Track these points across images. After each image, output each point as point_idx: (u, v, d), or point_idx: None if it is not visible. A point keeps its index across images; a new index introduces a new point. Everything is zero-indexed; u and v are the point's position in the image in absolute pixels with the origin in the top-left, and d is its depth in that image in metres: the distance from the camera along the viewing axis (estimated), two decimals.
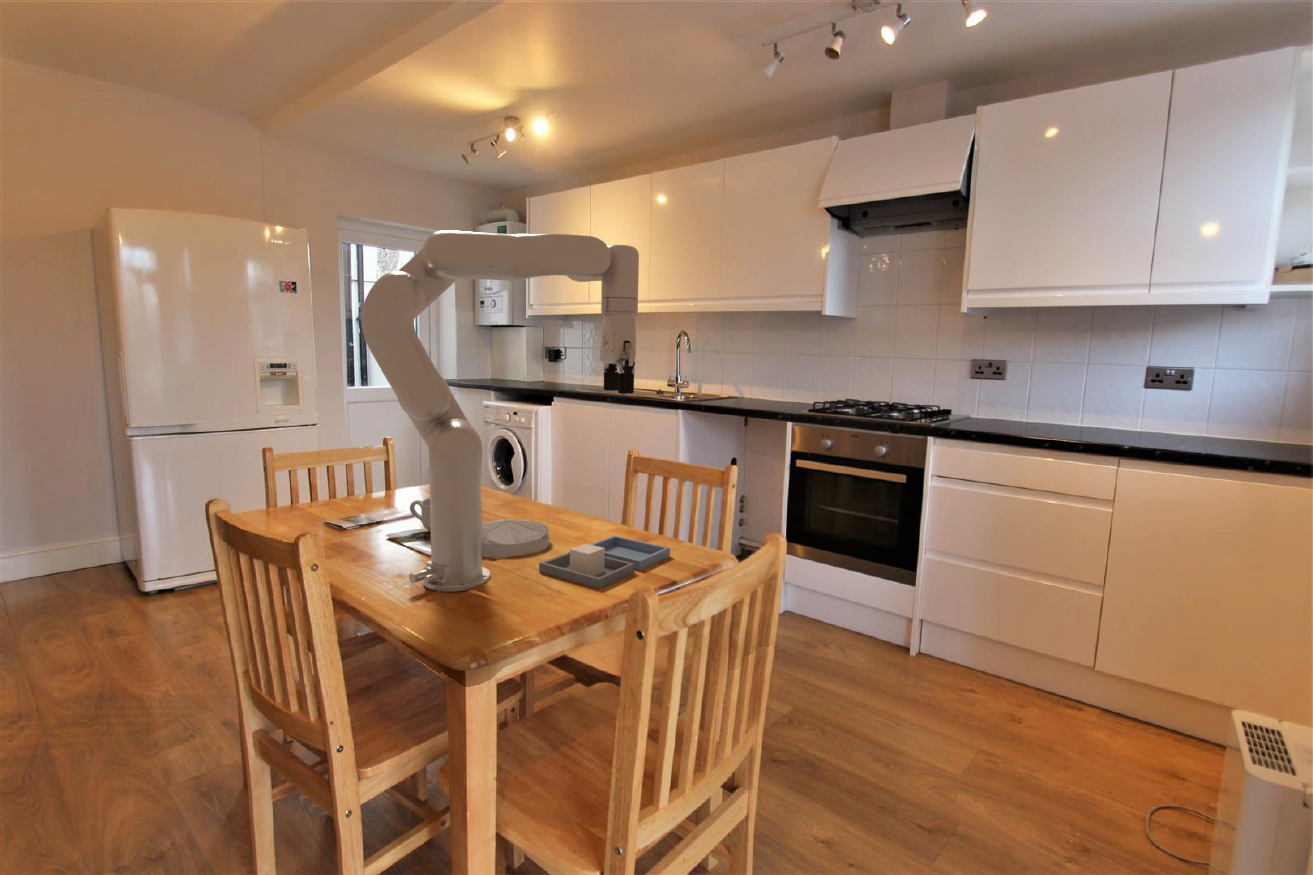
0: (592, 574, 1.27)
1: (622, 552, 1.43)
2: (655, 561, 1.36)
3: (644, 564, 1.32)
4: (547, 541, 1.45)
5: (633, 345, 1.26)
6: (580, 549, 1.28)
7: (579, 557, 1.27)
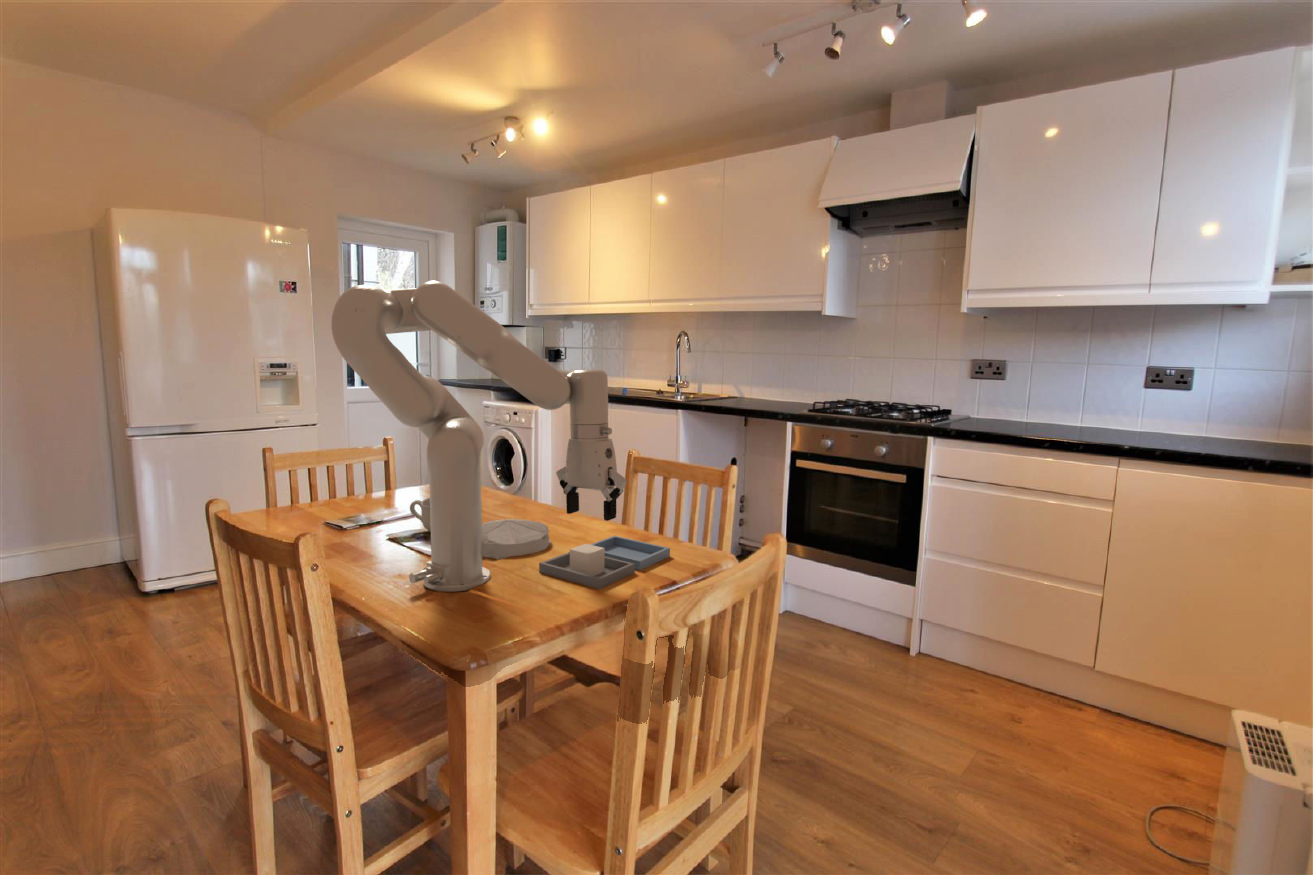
0: (592, 574, 1.27)
1: (622, 552, 1.43)
2: (655, 561, 1.36)
3: (644, 564, 1.32)
4: (547, 541, 1.45)
5: None
6: (580, 549, 1.28)
7: (579, 557, 1.27)
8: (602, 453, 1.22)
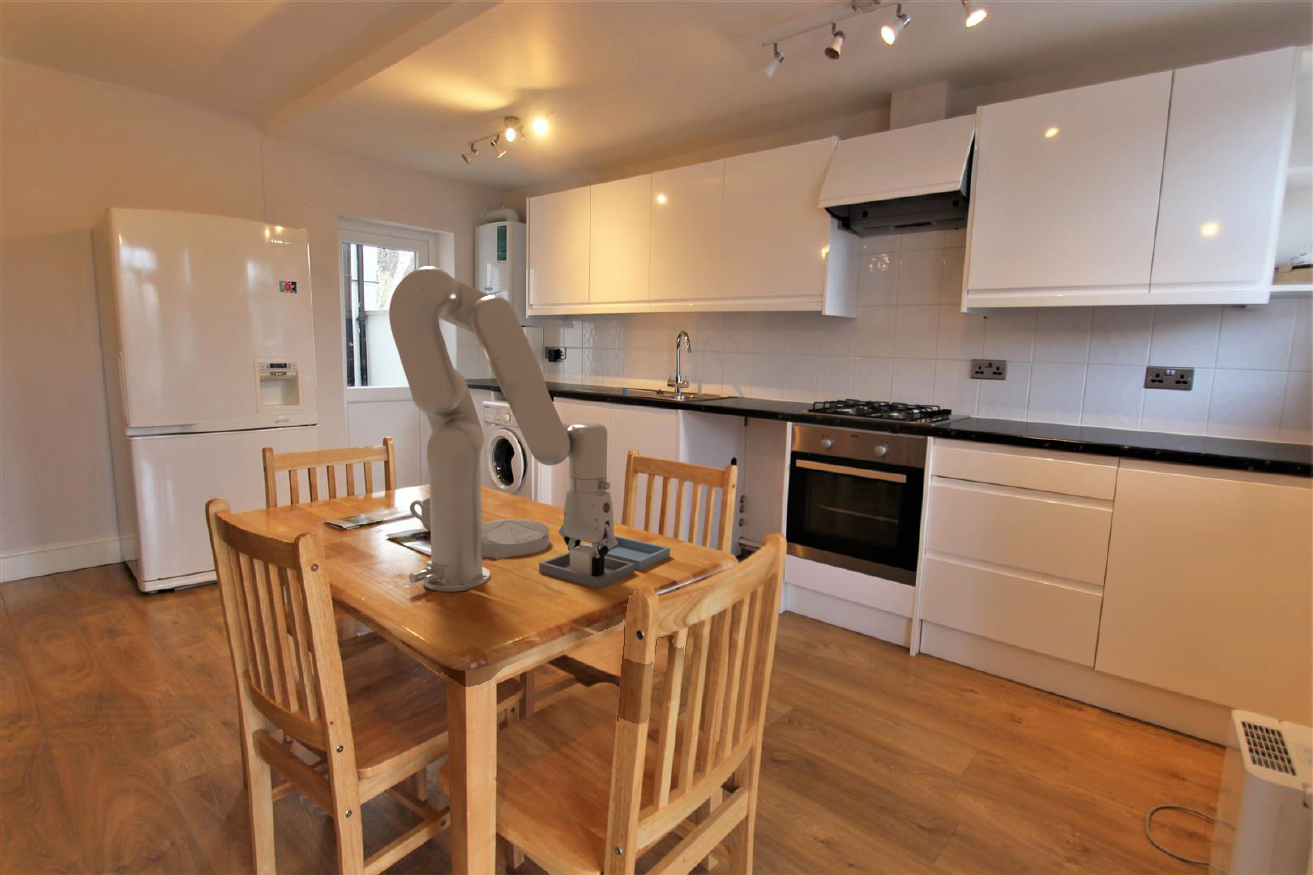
0: None
1: (622, 552, 1.43)
2: (655, 561, 1.36)
3: (644, 564, 1.32)
4: (547, 541, 1.45)
5: None
6: (580, 549, 1.28)
7: (579, 557, 1.27)
8: (600, 507, 1.24)
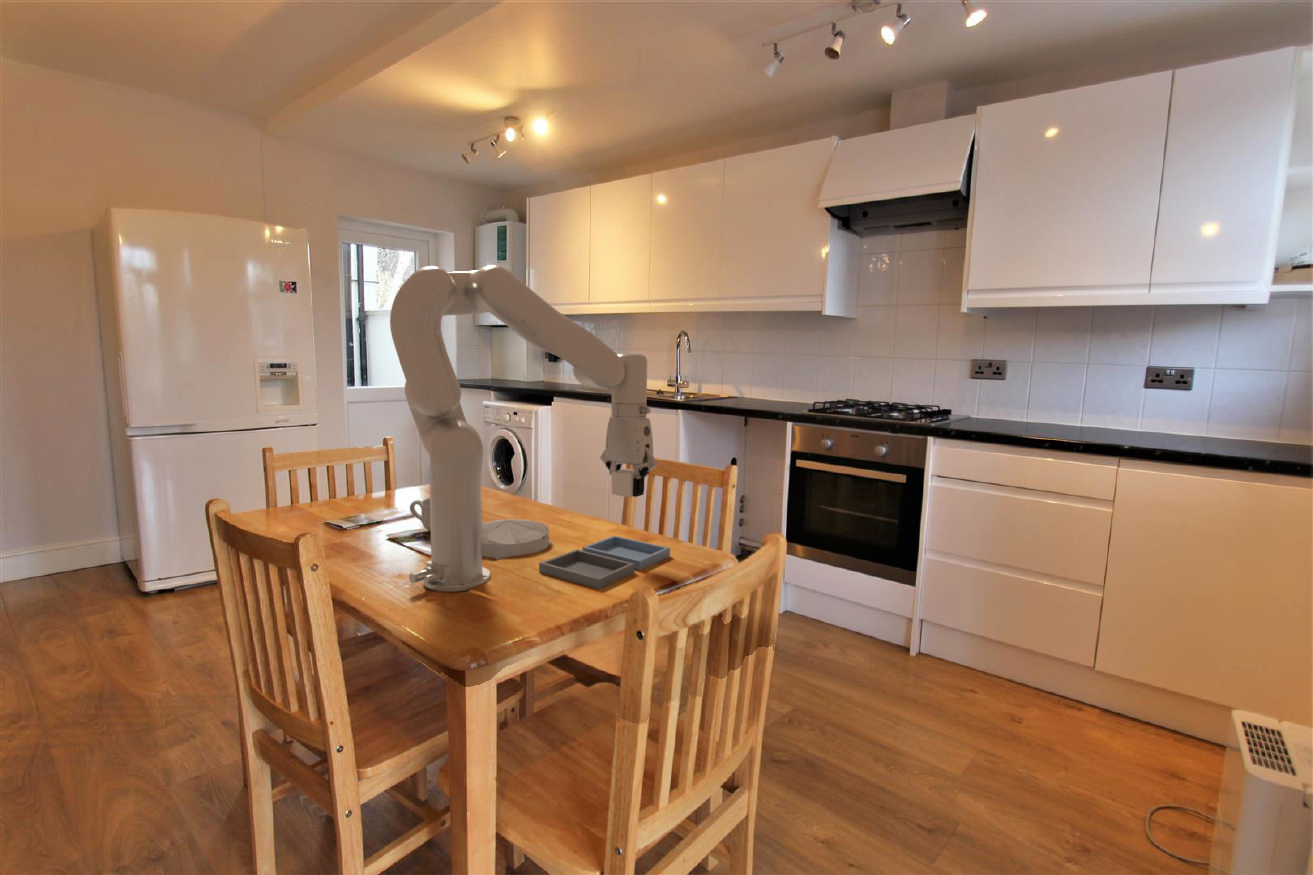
0: None
1: (622, 552, 1.43)
2: (655, 561, 1.36)
3: (644, 564, 1.32)
4: (547, 541, 1.45)
5: None
6: (622, 472, 1.37)
7: (621, 478, 1.36)
8: (641, 430, 1.33)
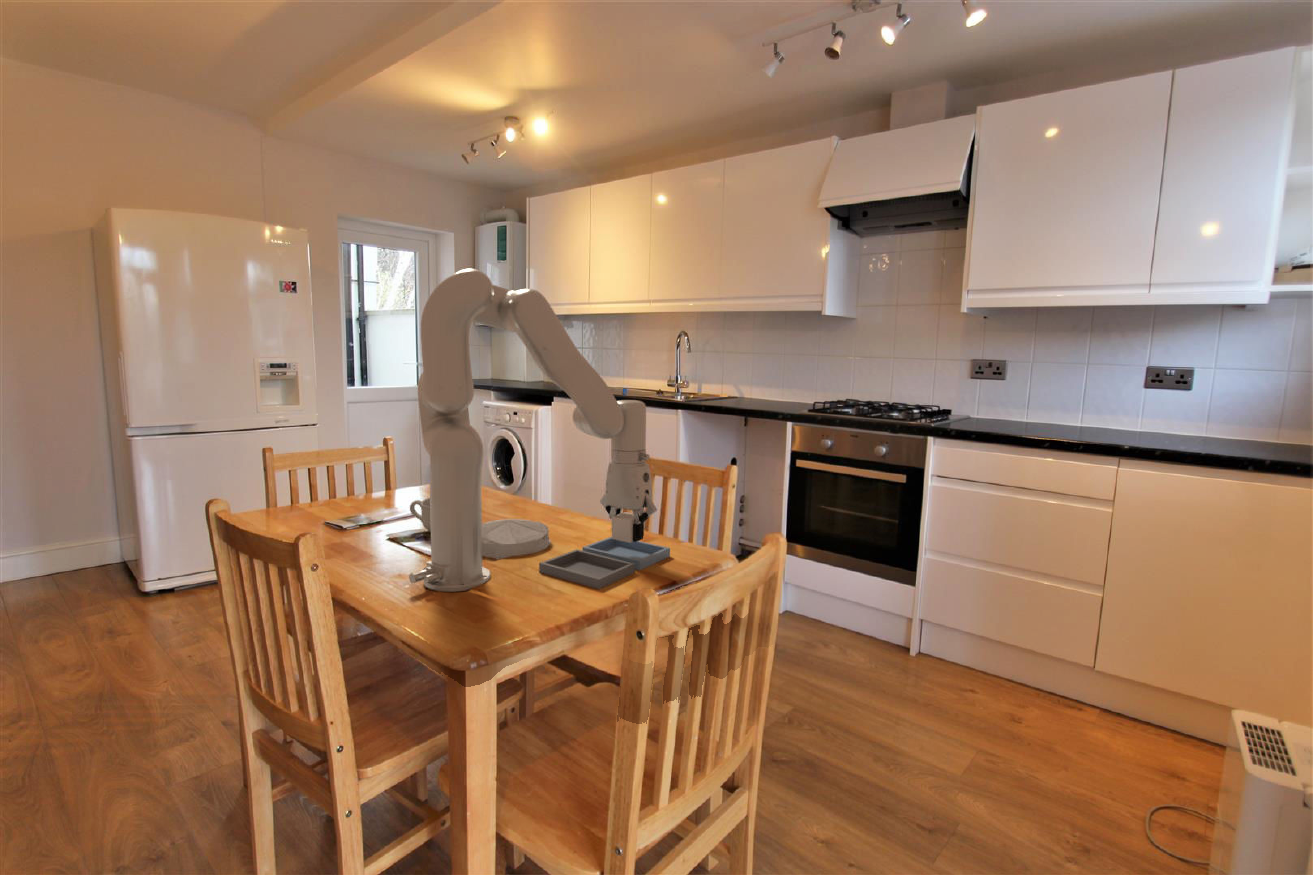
0: None
1: (622, 552, 1.43)
2: (655, 561, 1.36)
3: (644, 564, 1.32)
4: (547, 541, 1.45)
5: None
6: (621, 517, 1.38)
7: (621, 524, 1.37)
8: (640, 477, 1.34)
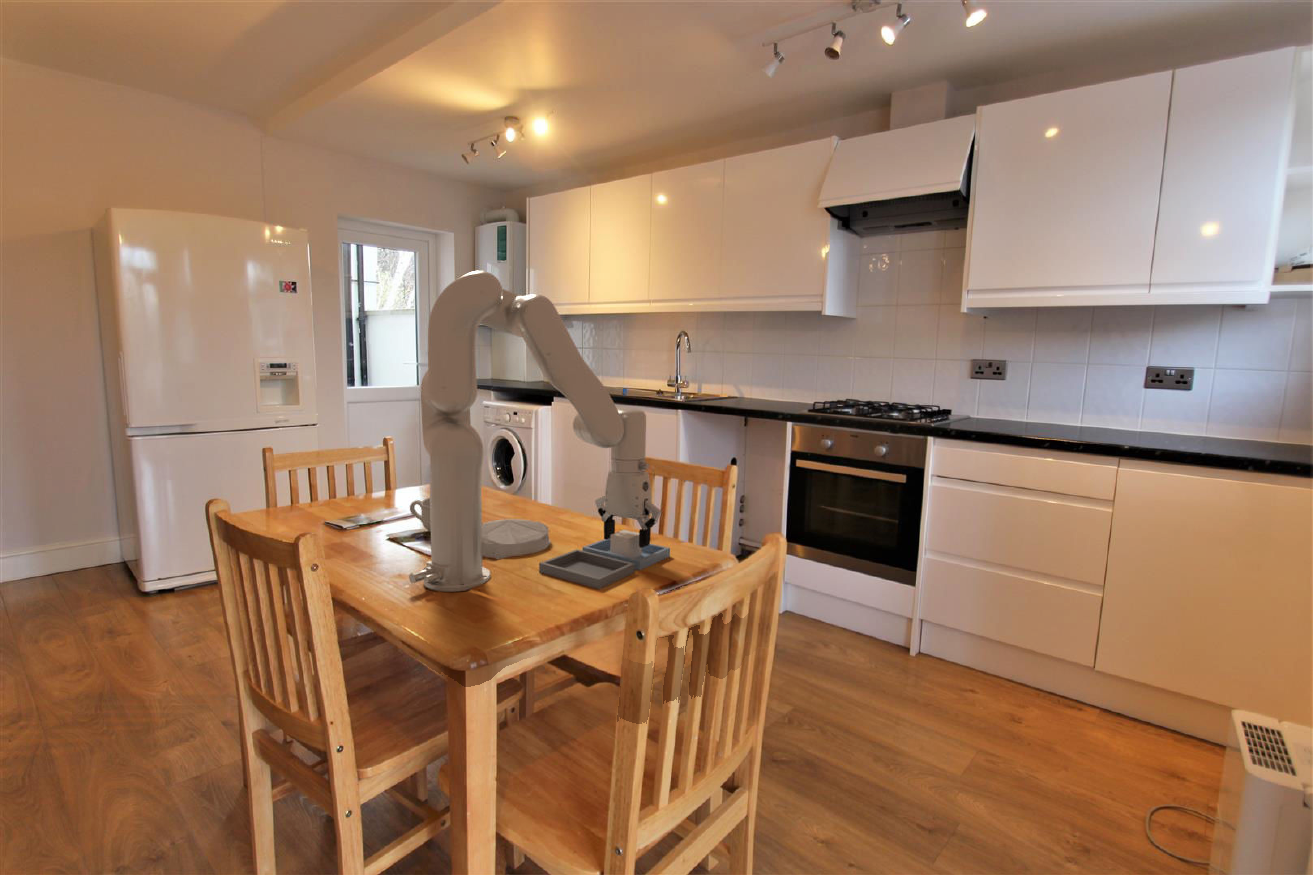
0: (631, 557, 1.38)
1: None
2: (655, 561, 1.36)
3: (644, 564, 1.32)
4: (547, 541, 1.45)
5: None
6: (620, 535, 1.39)
7: (620, 542, 1.38)
8: (640, 486, 1.34)
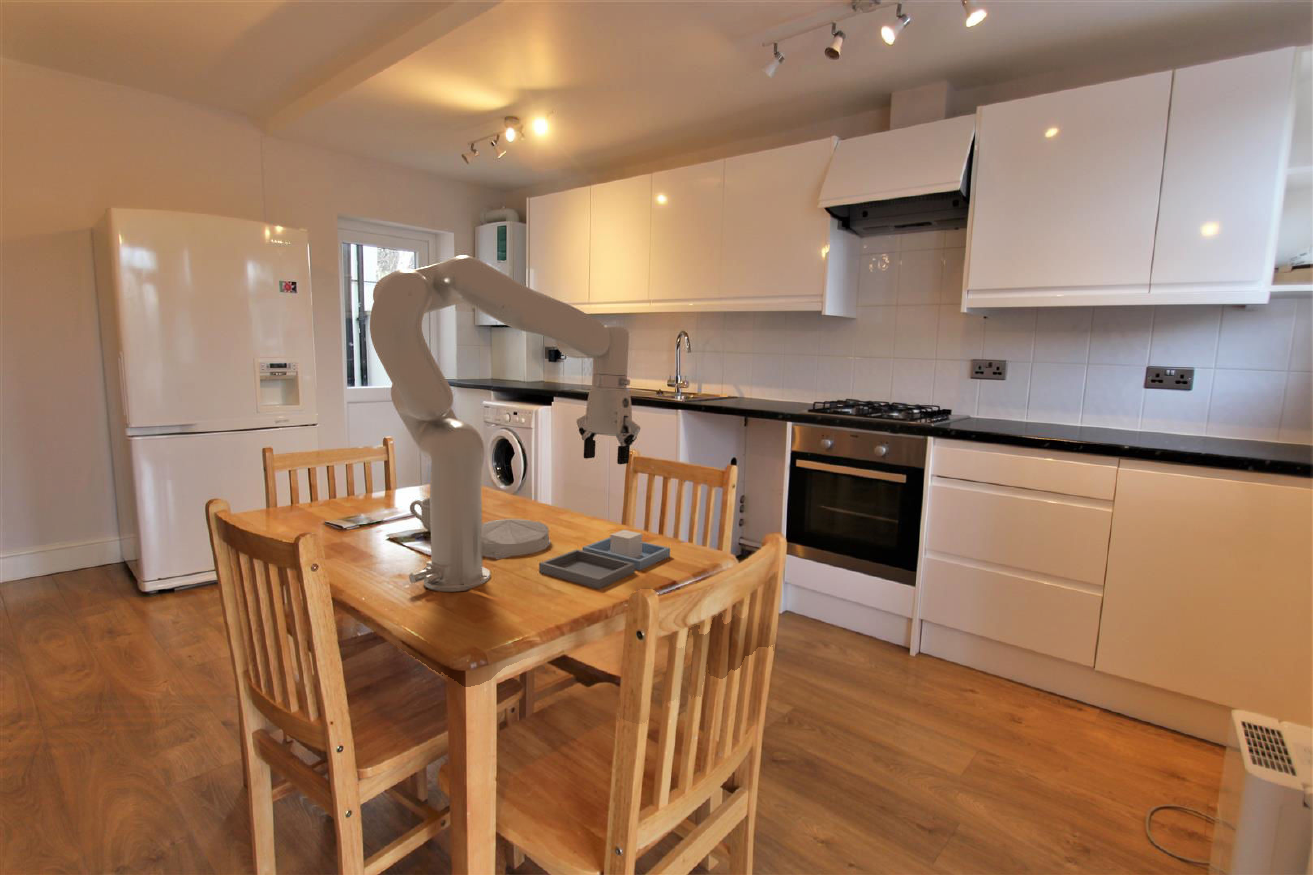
0: (631, 557, 1.38)
1: None
2: (655, 561, 1.36)
3: (644, 564, 1.32)
4: (547, 541, 1.45)
5: None
6: (620, 535, 1.39)
7: (620, 542, 1.38)
8: (619, 402, 1.34)
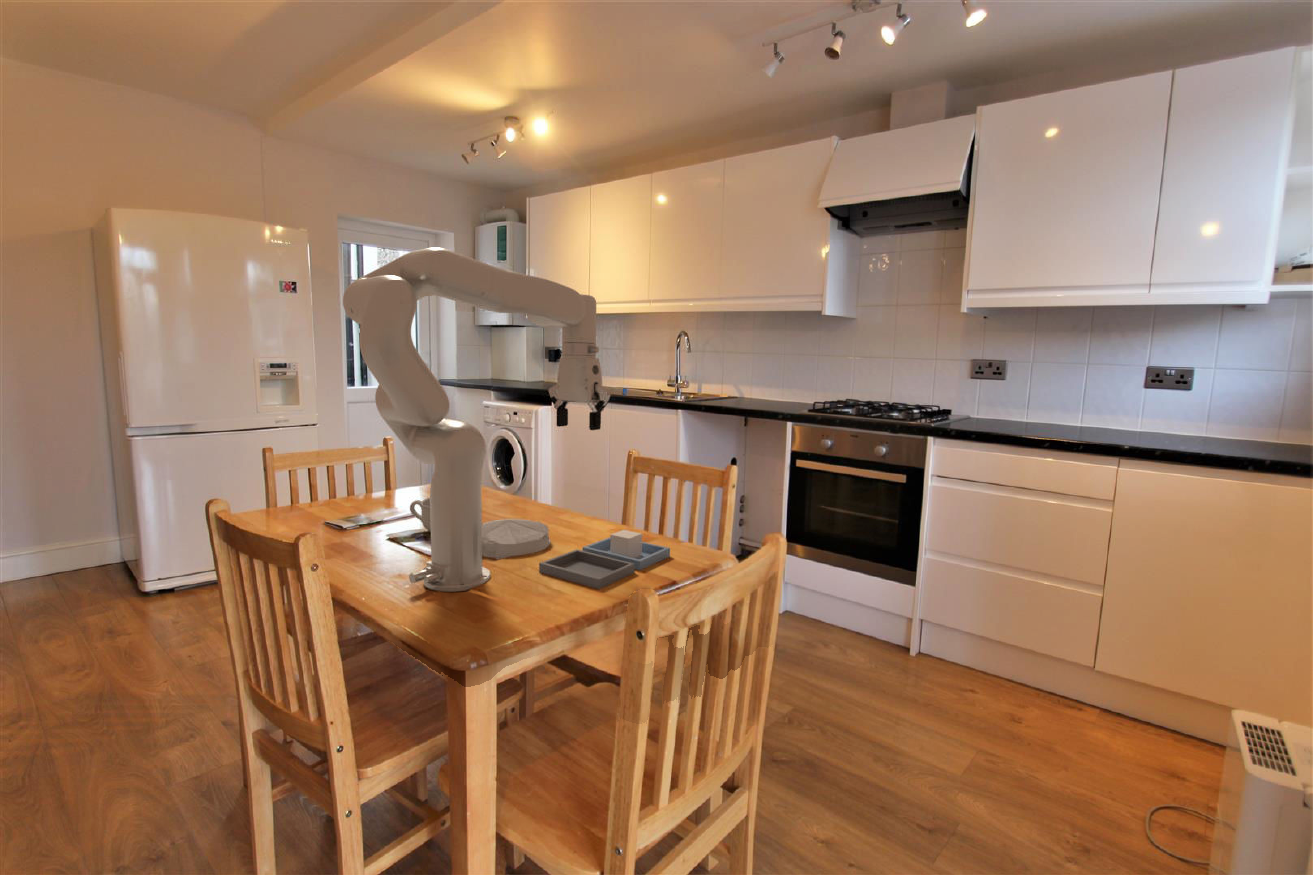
0: (631, 557, 1.38)
1: None
2: (655, 561, 1.36)
3: (644, 564, 1.32)
4: (547, 541, 1.45)
5: None
6: (620, 535, 1.39)
7: (620, 542, 1.38)
8: (589, 369, 1.37)
